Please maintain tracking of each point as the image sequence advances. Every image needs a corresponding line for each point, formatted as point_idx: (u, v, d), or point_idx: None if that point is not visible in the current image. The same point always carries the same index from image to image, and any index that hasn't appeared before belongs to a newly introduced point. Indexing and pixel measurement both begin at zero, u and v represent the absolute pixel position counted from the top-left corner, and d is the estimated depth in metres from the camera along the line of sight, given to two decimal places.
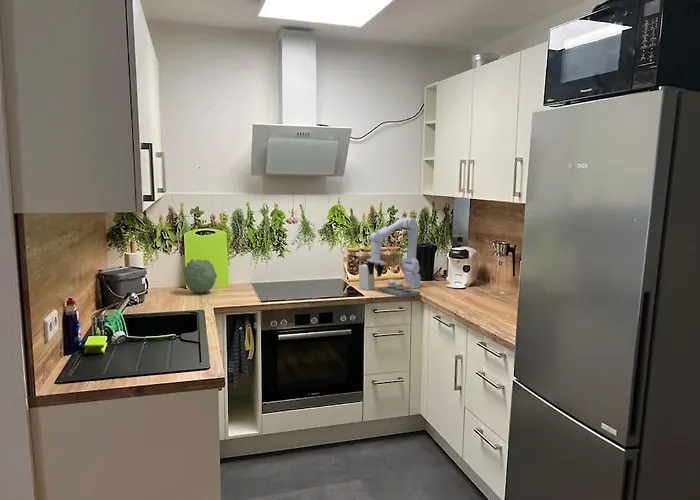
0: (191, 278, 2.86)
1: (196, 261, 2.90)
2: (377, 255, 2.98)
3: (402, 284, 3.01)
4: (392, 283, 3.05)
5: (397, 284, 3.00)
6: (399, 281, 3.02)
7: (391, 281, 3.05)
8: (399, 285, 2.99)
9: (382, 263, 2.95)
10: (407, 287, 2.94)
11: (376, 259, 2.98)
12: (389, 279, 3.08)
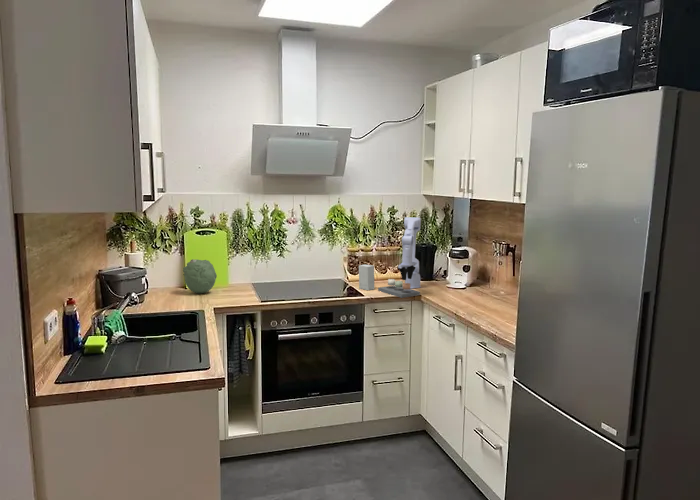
0: (191, 278, 2.86)
1: (196, 261, 2.90)
2: (403, 258, 2.92)
3: (402, 284, 3.01)
4: (392, 283, 3.05)
5: (397, 284, 3.00)
6: (399, 281, 3.02)
7: (391, 281, 3.05)
8: (399, 285, 2.99)
9: (399, 266, 2.89)
10: (407, 287, 2.94)
11: (402, 262, 2.93)
12: (389, 279, 3.08)
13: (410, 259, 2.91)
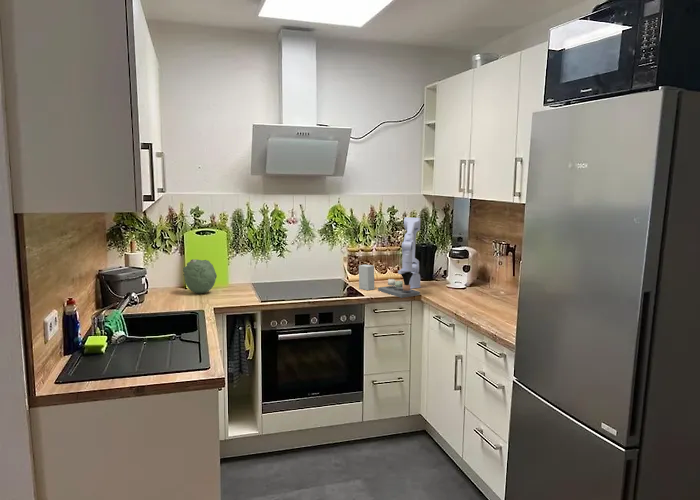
0: (191, 278, 2.86)
1: (196, 261, 2.90)
2: (403, 263, 2.93)
3: (402, 284, 3.01)
4: (392, 283, 3.05)
5: (397, 284, 3.00)
6: (399, 281, 3.02)
7: (391, 281, 3.05)
8: (399, 285, 2.99)
9: (399, 272, 2.89)
10: (407, 288, 2.94)
11: (402, 268, 2.93)
12: (389, 279, 3.08)
13: (410, 265, 2.92)
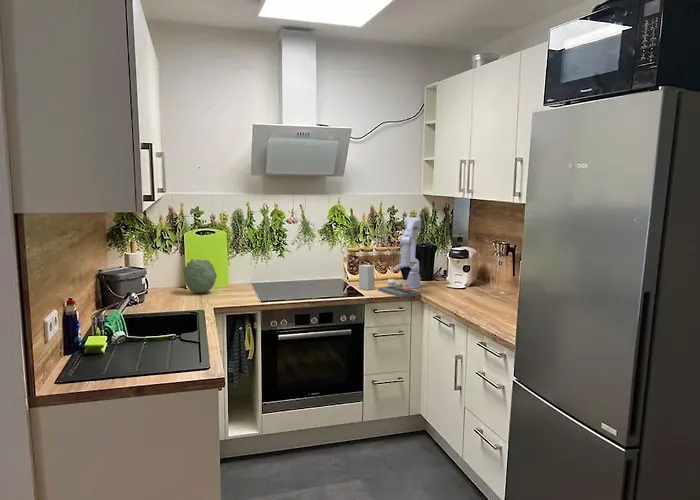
0: (191, 278, 2.86)
1: (196, 261, 2.90)
2: (401, 258, 2.94)
3: (402, 284, 3.01)
4: (392, 283, 3.05)
5: (397, 284, 3.00)
6: (399, 281, 3.02)
7: (391, 281, 3.05)
8: (399, 285, 2.99)
9: (397, 267, 2.91)
10: (407, 289, 2.94)
11: (401, 263, 2.94)
12: (389, 279, 3.08)
13: (408, 260, 2.93)
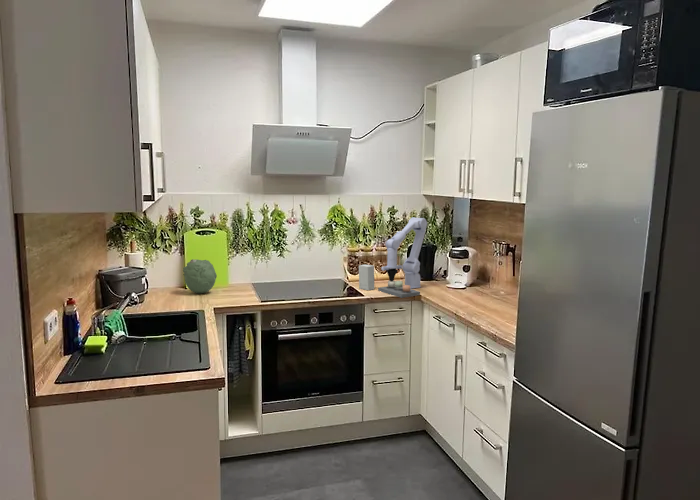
0: (191, 278, 2.86)
1: (196, 261, 2.90)
2: (387, 260, 3.05)
3: (402, 284, 3.01)
4: (392, 284, 3.05)
5: (397, 284, 3.00)
6: (399, 281, 3.02)
7: (391, 282, 3.05)
8: (399, 285, 2.99)
9: (382, 268, 3.02)
10: (407, 289, 2.94)
11: (387, 264, 3.05)
12: None
13: (393, 262, 3.03)
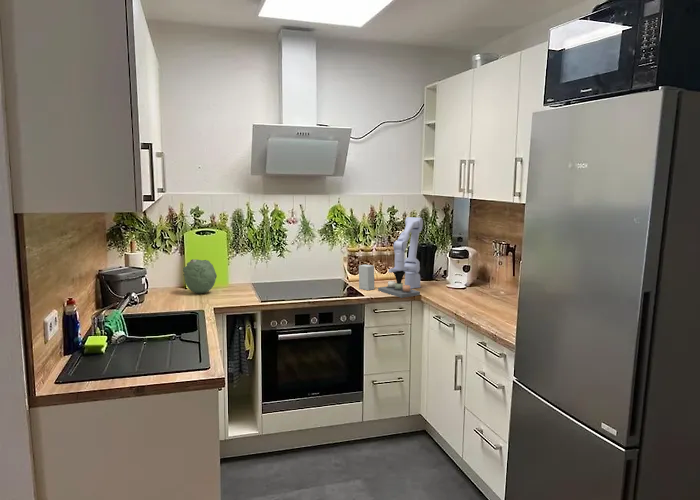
0: (191, 278, 2.86)
1: (196, 261, 2.90)
2: (395, 262, 2.99)
3: (402, 286, 3.01)
4: (392, 285, 3.05)
5: (397, 286, 3.00)
6: None
7: (391, 283, 3.05)
8: (399, 287, 2.99)
9: (389, 270, 2.97)
10: (407, 289, 2.94)
11: None
12: (389, 281, 3.08)
13: (401, 264, 2.97)
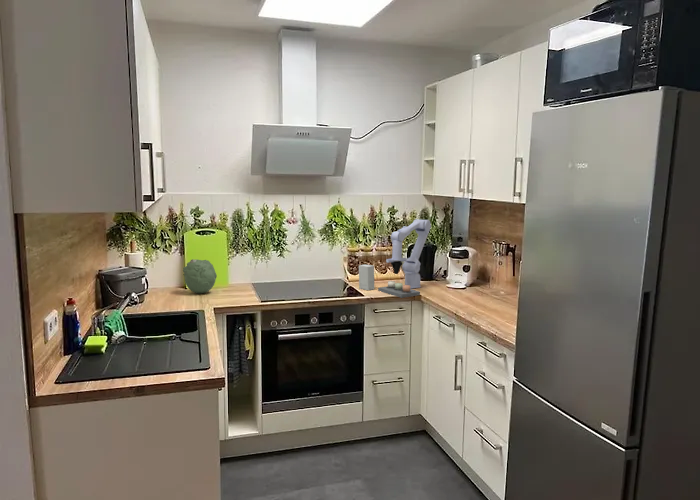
0: (191, 278, 2.86)
1: (196, 261, 2.90)
2: (392, 253, 3.05)
3: (402, 286, 3.01)
4: (392, 285, 3.05)
5: (397, 286, 3.00)
6: (399, 283, 3.02)
7: (391, 283, 3.05)
8: (399, 287, 3.00)
9: (386, 260, 3.02)
10: (407, 289, 2.94)
11: (392, 257, 3.05)
12: (389, 281, 3.08)
13: (398, 254, 3.03)
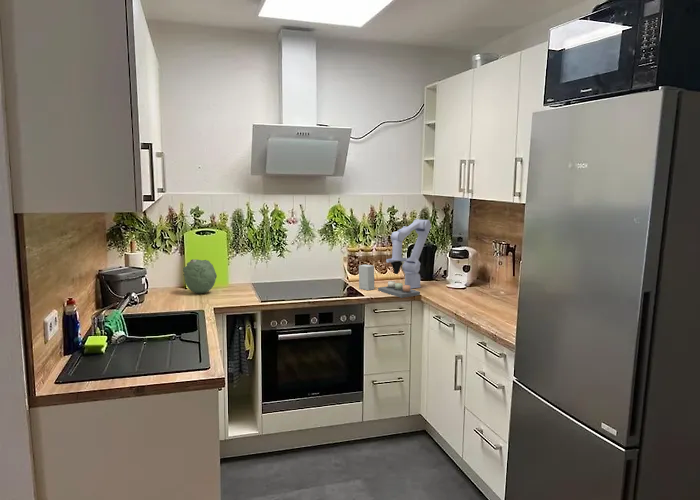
0: (191, 278, 2.86)
1: (196, 261, 2.90)
2: (392, 253, 3.05)
3: (402, 286, 3.01)
4: (392, 285, 3.05)
5: (397, 286, 3.00)
6: (399, 283, 3.02)
7: (391, 283, 3.05)
8: (399, 287, 3.00)
9: (386, 260, 3.02)
10: (407, 289, 2.94)
11: (392, 257, 3.05)
12: (389, 281, 3.08)
13: (398, 254, 3.03)
